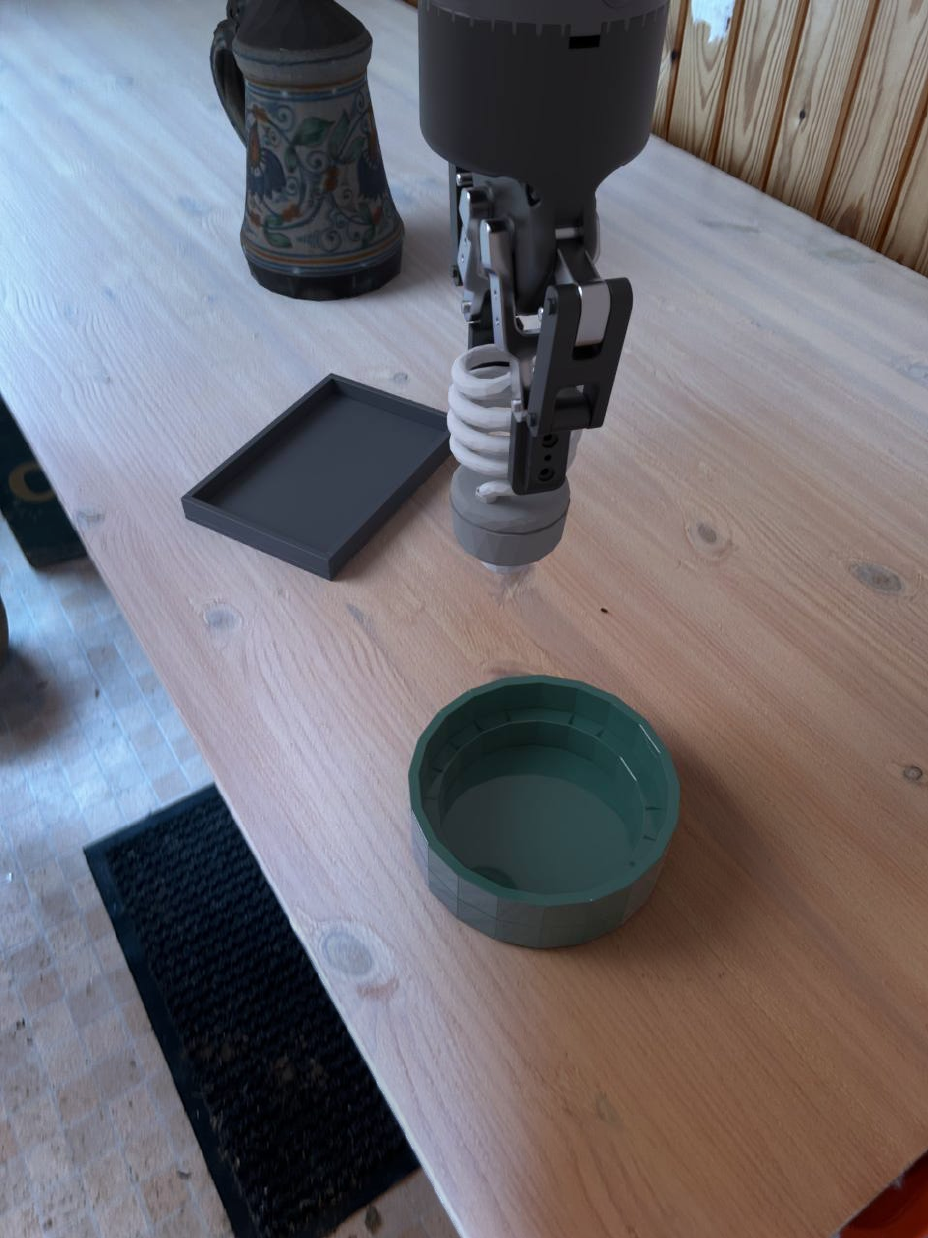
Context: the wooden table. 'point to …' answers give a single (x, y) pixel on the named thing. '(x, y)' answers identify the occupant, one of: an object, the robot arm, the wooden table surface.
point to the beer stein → (307, 148)
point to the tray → (323, 475)
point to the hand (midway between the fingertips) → (513, 440)
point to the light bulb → (496, 472)
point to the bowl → (541, 809)
